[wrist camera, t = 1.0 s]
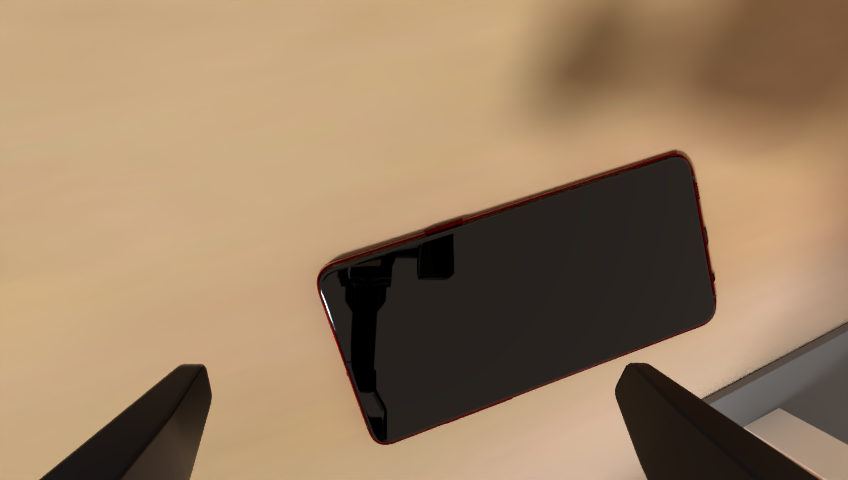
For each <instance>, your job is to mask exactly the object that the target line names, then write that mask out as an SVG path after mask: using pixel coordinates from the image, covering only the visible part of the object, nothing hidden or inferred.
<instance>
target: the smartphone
mask: <svg viewBox="0 0 848 480" xmlns="http://www.w3.org/2000/svg"><path fill="white" fill-rule="evenodd" d="M671 155H672V156H676V157H670V158H665V157H668V156H671ZM662 158H665V159H662ZM659 159H662V160H659ZM656 160H658V161H656ZM653 161H655V162H653ZM650 162H652V163H650ZM647 163H648V164H647ZM644 164H645V165H644ZM640 165H642V166H640ZM637 166H639V167H637ZM634 167H636V168H634ZM629 168H633V169H630V170H627V171H623V170H626V169H629ZM620 171H623V172H620ZM617 172H620V173H617ZM614 173H617V174H614ZM610 174H614V175H611V176H608V177H605V178H602V179H599V180H595V179H598V178H601V177H604V176H607V175H610ZM592 180H595V181H592ZM589 181H592V182H589ZM586 182H589V183H586ZM583 183H586V184H583ZM579 184H583V185H580V186H577V187H574V188H571V189H567V188H570V187H573V186H576V185H579ZM697 187H698V186H697V183H696V182H695V177H694V172H693V169H692V167H691V165H690V163H689V161H688V160H687V159H686V158H685V157H684V156H683V155H680V154H677V152H676V151H673V152H671V153H667V154H664V155H661V156H658V157H655V158H651V159H648V160H645V161H642V162H639V163H636V164H633V165H630V166H627V167H624V168H621V169H618V170H615V171H611V172H608V173H605V174H602V175H599V176H596V177H593V178H590V179H586V180H583V181H580V182H577V183H574V184H571V185H568V186H565V187H562V188H559V189H555V190H552V191H549V192H546V193H543V194H540V195H537V196H534V197H531V198H528V199H524V200H521V201H518V202H515V203H512V204H509V205H506V206H503V207H500V208H497V209H494V210H490V211H487V212H484V213H481V214H478V215H475V216H472V217H469V218H466V219H463V218H461V219H458V220H455V221H452V222H448V223H445V224H442V225H439V226H436V227H433V228H430V229H427V230H424V232H422V233H419V234H416V235H413V236H410V237H407V238H404V239H400V240H397V241H394V242H391V243H388V244H385V245H382V246H379V247H376V248H372V249H369V250H366V251H363V252H360V253H357V254H354V255H351V256H348V257H345V258H341V259H338V260H335V261H333V262H330V263H328V264H327V265H325V266H324V267H323V268H322V269H321V270H320V272H319V274H318V277H317V288H318V293H319V296H320V299H321V302H322V305H323V307H324V310H325V313H326V316H327V319H328V321H329V324H330V327H331V330H332V332H333V335H334V338H335V341H336V344H337V346H338V349H339V352H340V355H341V357H342V360H343V363H344V366H345V368H346V371H347V376H348V377H349V380H350V382H351V385H352V388H353V391H354V394H355V396H356V399H357V402H358V405H359V407H360V410H361V413H362V416H363V418H364V421H365V424H366V426H367V429H368V432H369V434H370V436H371V437H372V439H373V440H374V441H375V442H377V443H378V444H382V445H389V444H393V443H396V442H399V441H401V440H404V439H406V438H409V437H412V436H414V435H417V434H419V433H422V432H425V431H427V430H430V429H432V428H435V427H438V426H440V425H443V424H447V423H450V422H452V421H455V420H457V419H460V418H463V417H465V416H468V415H471V414H473V413H476V412H478V411H481V410H484V409H486V408H489V407H492V406H494V405H497V404H500V403H502V402H505V401H507V400H510V399H512V398H513V397H516V396H519V395H521V394H524V393H526V392H529V391H532V390H534V389H537V388H539V387H542V386H545V385H547V384H550V383H552V382H555V381H558V380H560V379H563V378H566V377H568V376H571V375H574V374H576V373H579V372H582V371H584V370H587V369H590V368H592V367H595V366H597V365H600V364H603V363H605V362H608V361H611V360H613V359H616V358H619V357H621V356H624V355H627V354H629V353H632V352H635V351H637V350H640V349H643V348H645V347H648V346H650V345H653V344H656V343H658V342H661V341H664V340H666V339H669V338H672V337H674V336H677V335H680V334H682V333H685V332H688V331H690V330H693V329H696V328H698V327H701V326H703V325H705V324H707V323H708V322H709V321H710V320H711V319H712V318H713V316H714V314H715V311H716V295H715V289H714V283H713V282H714V281H715V276H714V274H713V273H712V272H711V266H710V260H709V254H708V249H707V245H708V238H707V232H706V228H705V227H704V226H703V221H702V215H701V209H700V204H699V199H700V198H699V197H698V196H699V194H698V193H699V192H698V188H697ZM564 189H567V190H564ZM561 190H564V191H561ZM558 191H561V192H558ZM555 192H558V193H555ZM552 193H555V194H552ZM548 194H552V195H549V196H546V197H543V198H539V197H542V196H545V195H548ZM536 198H539V199H536ZM533 199H536V200H533ZM530 200H533V201H530ZM527 201H530V202H527ZM524 202H527V203H524ZM521 203H524V204H521ZM518 204H521V205H518ZM514 205H518V206H515V207H511V206H514ZM508 207H511V208H508ZM505 208H508V209H505ZM502 209H505V210H502ZM499 210H502V211H499ZM496 211H499V212H496ZM493 212H496V213H493ZM490 213H493V214H490ZM487 214H490V215H487ZM484 215H487V216H484ZM480 216H483V217H480ZM477 217H480V218H477ZM474 218H477V219H474ZM471 219H474V220H471ZM468 220H471V221H468ZM465 221H468V222H465ZM463 222H465V223H463ZM422 235H424V236H422ZM419 236H421V237H419ZM416 237H418V238H416ZM413 238H415V239H413ZM410 239H412V240H410ZM407 240H409V241H407ZM403 241H406V242H403ZM400 242H403V243H400ZM397 243H400V244H397ZM394 244H397V245H394ZM391 245H393V246H391ZM388 246H390V247H388ZM385 247H387V248H385ZM382 248H384V249H382ZM379 249H381V250H379ZM376 250H378V251H376ZM373 251H375V252H373ZM370 252H372V253H370ZM366 253H369V254H366ZM363 254H366V255H363ZM360 255H363V256H360ZM357 256H359V257H357ZM354 257H356V258H354ZM351 258H353V259H351ZM348 259H350V260H348ZM345 260H347V261H345ZM342 261H344V262H342ZM339 262H341V263H339ZM336 263H338V264H336ZM333 264H335V265H333ZM331 265H333V266H331ZM329 266H331V267H329ZM327 267H329V268H327ZM326 268H327V269H326ZM325 269H326V270H325ZM324 270H325V271H324ZM323 271H324V272H323ZM322 272H323V273H322ZM321 273H322V275H321ZM320 276H321V277H320Z"/></svg>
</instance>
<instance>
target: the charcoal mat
mask: <svg viewBox="0 0 848 480" xmlns="http://www.w3.org/2000/svg"><path fill="white" fill-rule="evenodd" d="M703 401H704V402H706V403H707V404H709V405H710V406H712V407H713V408H715V409H716V410H718V411H719V412H721V413H722V414H724V415H725V416H727V417H728V418H730V419H731V420H732V421H734V422H735V423H737V424H738V425H740V426H741V427H743V428H744V427H745V426H746V425H748V424H750V423H752V422H754V421H756V420H757V419H759V418H761V417H763V416H765V415H767V414H769V413H770V412H772V411H774V410H776V409H778V408H780V409H782V410H784V411H786V412H788V413H790V414H791V415H793V416H795V417H797V418H799V419H801V420H803V421H804V422H806V423H808V424H810V425H812V426H814V427H816V428H817V429H819V430H821V431H823V432H825V433H827V434H829V435H830V436H832V437H834V438H836V439H838V440H840V441H842V442H843V443H845V444H847V445H848V323H847V324H845V325H843V326H841V327H839V328H837V329H835V330H834V331H832V332H830V333H828V334H826V335H824V336H822V337H820V338H818V339H817V340H815V341H813V342H811V343H809V344H807V345H805V346H803V347H801V348H800V349H798V350H796V351H794V352H792V353H790V354H788V355H786V356H784V357H783V358H781V359H779V360H777V361H775V362H773V363H771V364H769V365H767V366H766V367H764V368H762V369H760V370H758V371H756V372H754V373H752V374H751V375H749V376H747V377H745V378H743V379H741V380H739V381H737V382H735V383H734V384H732V385H730V386H728V387H726V388H724V389H722V390H720V391H718V392H717V393H715V394H713V395H711V396H709V397H707V398H705V399H703Z"/></svg>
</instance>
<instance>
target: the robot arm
mask: <svg viewBox="0 0 848 480" xmlns="http://www.w3.org/2000/svg"><path fill="white" fill-rule="evenodd" d="M615 395H616V400H617V402H618V405H619V408H620V410H621V413H622V416H623V419H624V421H625V424H626V427H627V429H628V432H629V435H630V438H631V440H632V443H633V446H634V449H635V451H636V454H637V456H638V459H639V461H640V464H641V466H642V469H643V471H644V473H645V475H646V478H647V480H820V479H818V478H817V477H815V476H814V475H812V474H811V473H810V472H808V471H807V470H805V469H804V468H802V467H801V466H799V465H798V464H796V463H795V462H793V461H792V460H790V459H789V458H787V457H786V456H784V455H783V454H781V453H780V452H778V451H777V450H775V449H774V448H772V447H771V446H770V445H768V444H767V443H765V442H764V441H762V440H761V439H759V438H758V437H756V436H755V435H753V434H752V433H750V432H749V431H747V430H746V429H744V428H743V427H741V426H740V425H738V424H737V423H735V422H734V421H732V420H731V419H730V418H728V417H727V416H725V415H724V414H722V413H721V412H719V411H718V410H716V409H715V408H713V407H712V406H710V405H709V404H707V403H706V402H704V401H703V400H701V399H700V398H698V397H697V396H695V395H694V394H692V393H691V392H689V391H688V390H687V389H685V388H684V387H682V386H681V385H679V384H678V383H676V382H675V381H673V380H672V379H670V378H669V377H667V376H666V375H664V374H663V373H661V372H660V371H658V370H657V369H655V368H654V367H652V366H651V365H649V364H647V363H629V364H628V365H627V366H626V367H625V369H624V371H623V373H622V375H621V377H620V379H619V381H618V383H617V385H616V388H615ZM211 399H212V393H211V387H210V383H209V378H208V374H207V369H206V367H205V366H204V365H203V364H182V365H180V366H178V367H177V368H175V369H174V370H173V371H172V372H171V373H169V374H168V375H167V376H166V377H164V378H163V379H162V380H161V381H160V382H158V383H157V384H156V385H155V386H153V387H152V388H151V389H150V390H149V391H147V392H146V393H145V394H144V395H142V396H141V397H140V398H139V399H138V400H136V401H135V402H134V403H133V404H131V405H130V406H129V407H128V408H126V409H125V410H124V411H123V412H122V413H120V414H119V415H118V416H117V417H115V418H114V419H113V420H112V421H111V422H109V423H108V424H107V425H106V426H104V427H103V428H102V429H101V430H100V431H98V432H97V433H96V434H95V435H93V436H92V437H91V438H90V439H88V440H87V441H86V442H85V443H84V444H82V445H81V446H80V447H79V448H77V449H76V450H75V451H74V452H73V453H71V454H70V455H69V456H68V457H66V458H65V459H64V460H63V461H62V462H60V463H59V464H58V465H57V466H55V467H54V468H53V469H52V470H51V471H49V472H48V473H47V474H46V475H44V476H43V477H42V478H41V479H39V480H190V477H191V473H192V470H193V466H194V463H195V459H196V455H197V452H198V448H199V445H200V441H201V437H202V434H203V430H204V426H205V423H206V419H207V416H208V412H209V408H210V405H211Z"/></svg>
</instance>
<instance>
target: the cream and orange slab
mask: <svg viewBox="0 0 848 480" xmlns="http://www.w3.org/2000/svg"><path fill="white" fill-rule="evenodd" d="M744 429H746V430H747V431H749V432H750V433H752V434H753V435H755V436H756V437H758V438H759V439H761V440H762V441H764V442H765V443H767V444H768V445H770V446H771V447H772V448H774V449H775V450H777V451H778V452H780V453H781V454H783V455H784V456H786V457H787V458H789V459H790V460H792V461H793V462H795V463H796V464H798V465H799V466H801V467H802V468H804V469H805V470H807V471H808V472H810V473H811V474H812V475H814V476H815V477H817V478H818V479H820V480H848V445H847V444H845V443H843V442H842V441H840V440H838V439H836V438H834V437H832V436H830V435H829V434H827V433H825V432H823V431H821V430H819V429H817V428H816V427H814V426H812V425H810V424H808V423H806V422H804V421H803V420H801V419H799V418H797V417H795V416H793V415H791V414H790V413H788V412H786V411H784V410H782V409H780V408H778V409H776V410H774V411H772V412H770V413H769V414H767V415H765V416H763V417H761V418H759V419H757V420H756V421H754V422H752V423H750V424H748V425H746V426H745V427H744Z"/></svg>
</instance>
